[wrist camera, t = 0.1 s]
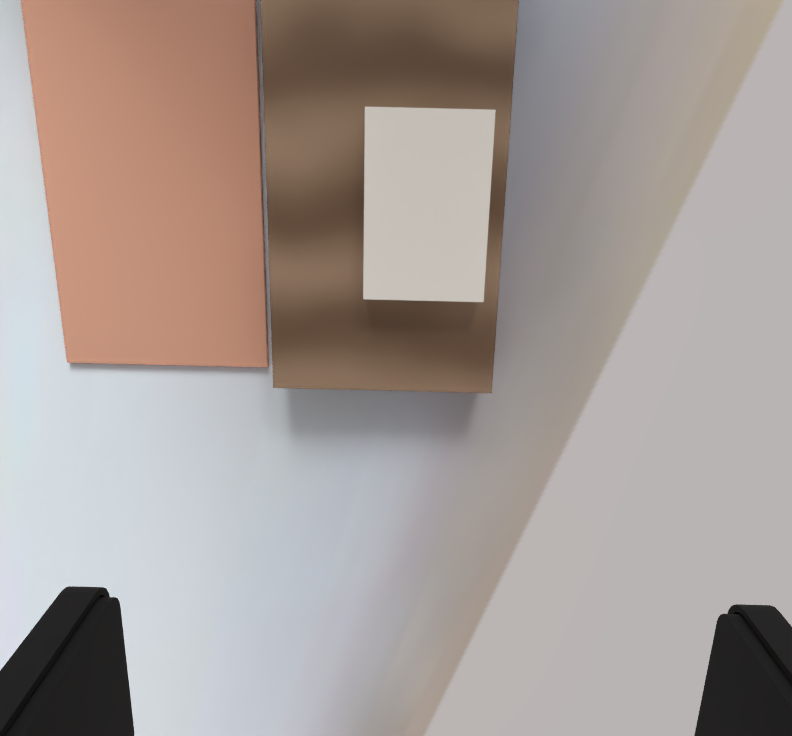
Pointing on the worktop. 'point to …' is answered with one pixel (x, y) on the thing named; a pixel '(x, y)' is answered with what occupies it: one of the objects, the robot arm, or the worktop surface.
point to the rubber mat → (153, 177)
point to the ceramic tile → (426, 203)
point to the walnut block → (344, 185)
